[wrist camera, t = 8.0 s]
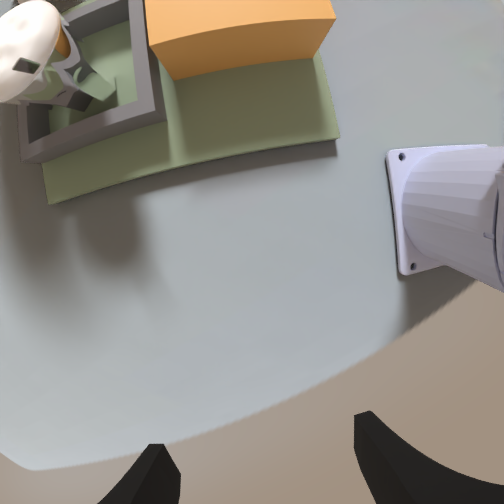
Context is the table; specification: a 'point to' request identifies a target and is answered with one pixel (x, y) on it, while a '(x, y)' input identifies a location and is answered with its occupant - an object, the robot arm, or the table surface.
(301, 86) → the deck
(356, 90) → the table surface
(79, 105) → the milkshake
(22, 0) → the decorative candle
